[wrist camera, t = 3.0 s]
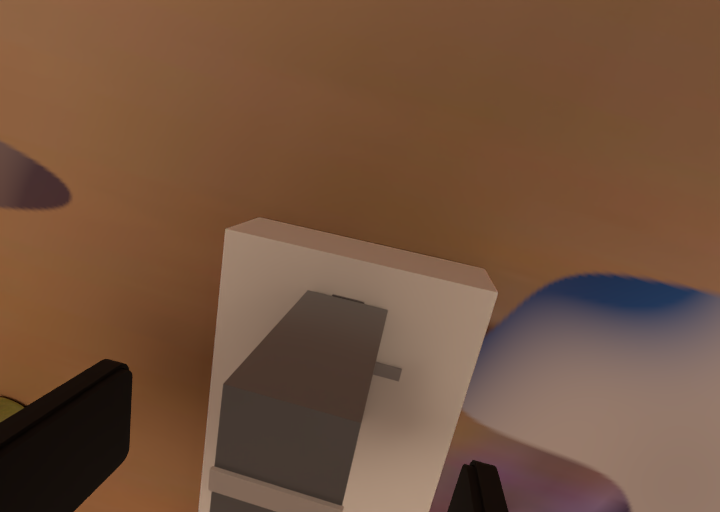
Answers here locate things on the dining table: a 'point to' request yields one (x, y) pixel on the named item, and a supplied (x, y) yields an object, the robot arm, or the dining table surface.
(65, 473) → the robot arm
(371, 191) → the dining table surface
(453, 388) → the console
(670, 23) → the dining table surface
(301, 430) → the fader
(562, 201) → the dining table surface
